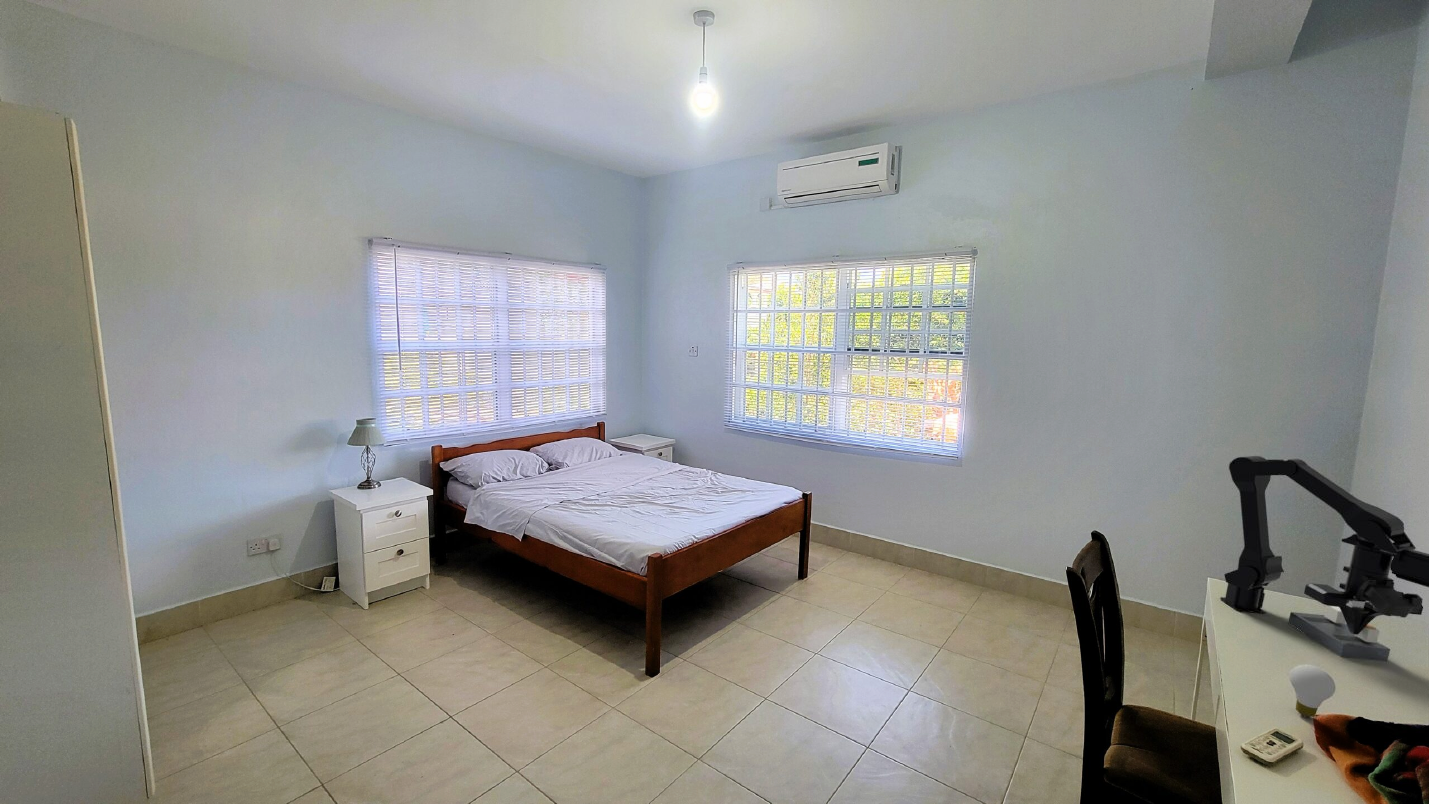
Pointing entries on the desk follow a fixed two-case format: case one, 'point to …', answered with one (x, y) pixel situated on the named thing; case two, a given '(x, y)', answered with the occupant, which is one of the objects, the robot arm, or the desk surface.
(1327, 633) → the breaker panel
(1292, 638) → the desk surface
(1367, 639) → the handle
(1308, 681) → the light bulb
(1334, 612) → the handle
